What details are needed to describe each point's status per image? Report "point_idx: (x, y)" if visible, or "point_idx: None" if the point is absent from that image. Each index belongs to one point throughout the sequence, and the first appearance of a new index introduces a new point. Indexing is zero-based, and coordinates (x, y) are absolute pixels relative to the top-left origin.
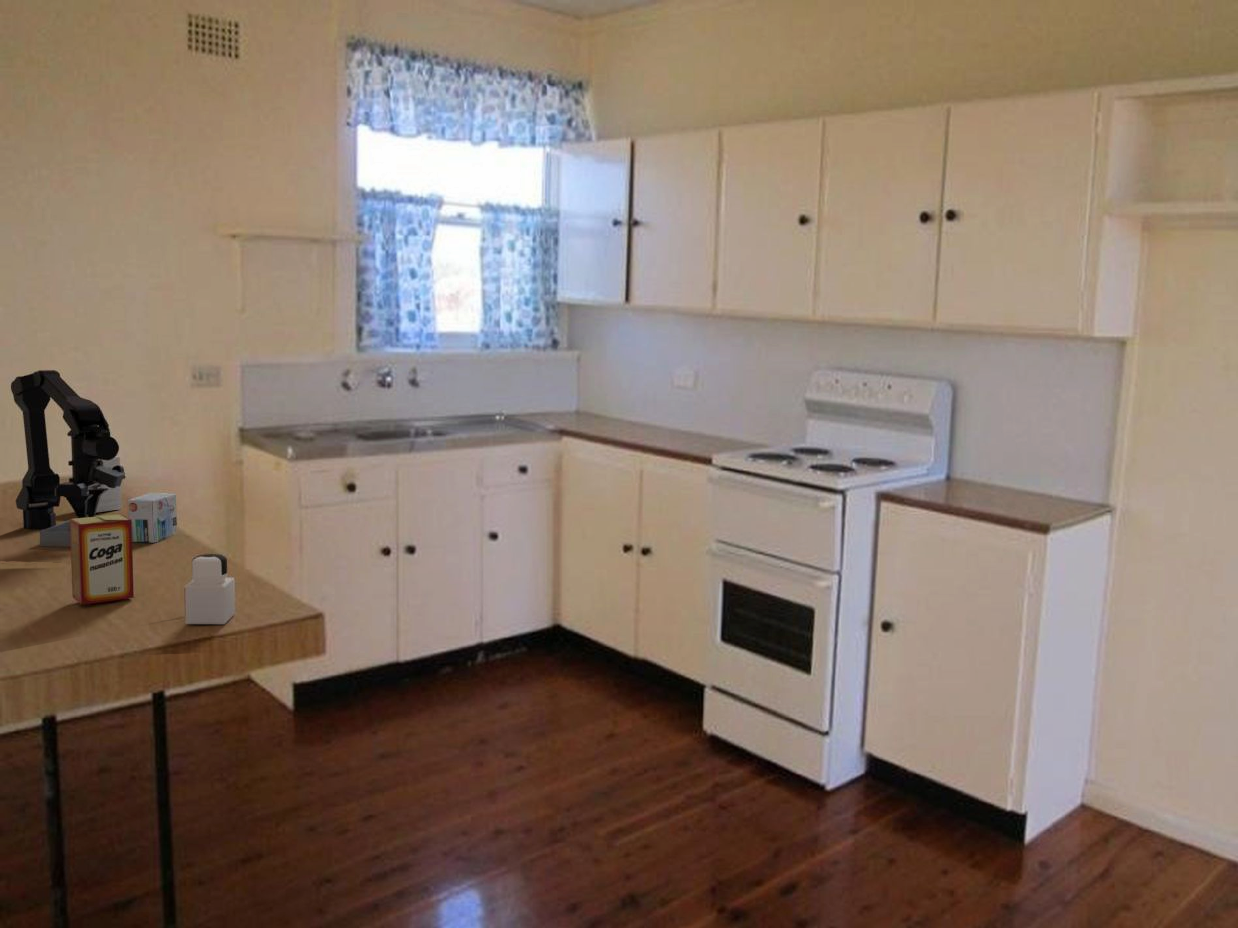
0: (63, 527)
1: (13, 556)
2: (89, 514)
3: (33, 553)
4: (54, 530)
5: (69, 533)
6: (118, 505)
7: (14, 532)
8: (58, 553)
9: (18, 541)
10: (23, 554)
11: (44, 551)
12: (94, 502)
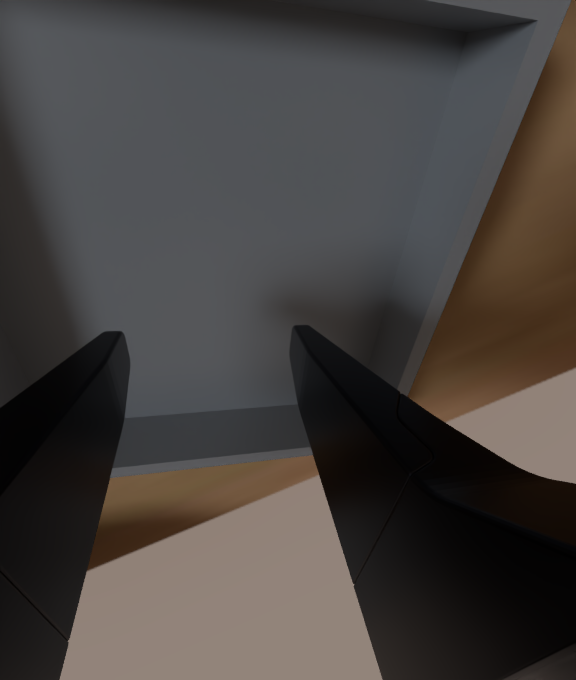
0: (159, 442)
1: (528, 382)
2: (123, 384)
3: (499, 350)
4: (263, 434)
5: (434, 316)
6: None
7: (122, 549)
8: (539, 258)
9: (271, 479)
10: (505, 371)
11: (472, 332)
12: (46, 472)
